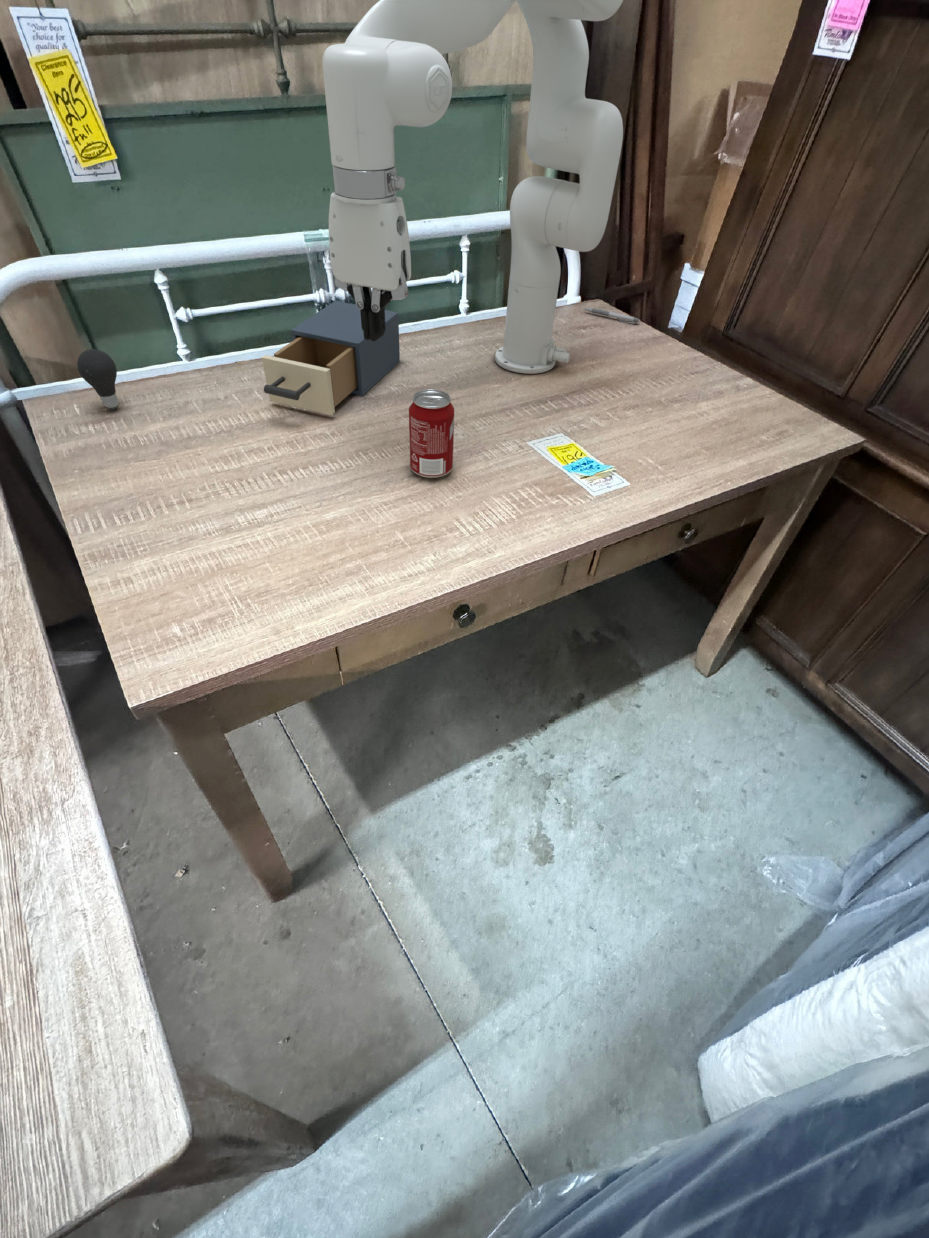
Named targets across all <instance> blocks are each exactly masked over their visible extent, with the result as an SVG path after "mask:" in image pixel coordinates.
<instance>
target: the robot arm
mask: <svg viewBox="0 0 929 1238" xmlns="http://www.w3.org/2000/svg"><path fill="white" fill-rule="evenodd" d="M515 2H516V3H517V5H518V7H519V9H520V11H521V13H522V15H523V18H524V20H525V22H526V25H527V29H528V31H529V34H530V39H531V45H532V54H533V60H532V61H533V63H532V77H531V85H530V86H531V87H530V96H529V105H528V107H529V108H528V116H527V125H526V137H525V139H526V141H525V146H526V148H525V149H526V153H527V156H528V158H529V160H530V161H531V162H532V163H534V164H535V165H536V166H540V167H542V168H546V169H551V170H556V171H562V172H567V173H572V174H577V175H579V176H578V177H579V182H573V181H568V180H565V179H559V178H554V177H550V176H543V175H542V176H541V175H534V176H529V177H526V178H524V179H523V180H521V181H519V183H517V185H516V186H515V188H514V190H513V192H512V195H511V198H510V204H509V223H510V224H509V225H510V235H511V236H510V237H511V253H510V270H509V279H508V280H509V281H508V292H507V301H506V302H507V303H506V304H507V305H506V313H505V323H504V324H505V325H504V336H503V346H501V347H499V348H498V349H497V350H496V351H495V355H494V361H495V362H496V364H497V365H498V366H499V367H501V368H502V369H505V370H506V371H510V372H513V373H518V374H527V375H528V374H529V375H535V374H542V373H546V372H549V371H550V370H552V369H553V368H554V367H555V365H556V361H557V362H559V363H562V364H563V363H564V364H569V361H570V358H571V353H570V352H568V348H565V347H564V348H563V347H557V345H555V340H556V339H555V338H554V337H552V336H553V329H554V322H555V315H556V308H557V301H558V295H559V294H558V293H559V288H560V281H561V272H562V271H561V270H562V268H561V259H560V256H559V253H558V250H557V247H558V248H562V249H565V250H570V251H576V252H581V253H586V252H590V251H593V250H594V249H595V248H597V247H598V246H599V244H600V242H601V241H602V239H603V237H604V234H605V232H606V228H607V224H608V221H609V216H610V210H611V205H612V200H613V196H614V189H615V185H616V179H617V174H618V169H619V164H620V160H621V159H620V158H621V154H622V147H623V140H624V124H623V118H622V113H621V112H620V109H618V107H617V106H616V105H615V104H613V103H612V102H609V101H606V100H602V99H601V100H600V99H593V98H587V97H586V84H587V76H588V68H589V62H590V61H589V60H590V50H589V49H590V48H589V42H588V38H587V34H586V31H585V27H584V24H583V23H582V21H589V22H602V21H606V20H609V19H610V18H612V16H614V15H615V14H616V13H617V11H618V10H619V9H620V8H621V6H622V4H623V2H624V0H378V1H377V2H376V3H375V4H374V5H372V6H371V8H370V9H369V10H368V11H367V12H366V13H365V15H363V17H362V18H361V19H360V20H359V22H358V23H357V24H356V25H355V27H354V28H353V29H352V31H351V32H350V34H349V35H348V36H347V38H346V40H345V42H344V43H334V44H331V45H329V46H328V47H326V49H325V50H324V52H323V54H322V55H323V56H322V74H323V76H322V77H323V86H324V96H325V106H326V118H327V129H328V139H329V141H328V142H329V150H330V151H329V152H330V160H331V161H330V162H331V171H332V172H331V173H332V183H333V192H331V194H330V200H329V206H328V207H329V208H328V251H329V261H330V268H331V272H332V273H331V274H332V275H333V277H334V281H333V282H334V286H335V287H336V288H338V289H341V290H342V291H345V292H348V294H349V295H350V297H351V298H352V299H353V300H354V303H355V304H356V306H357V308H358V309H360V313H361V326H362V330H363V333H364V339H365V340H369V339H370V340H371V341H376V340H378V339H379V338H380V337H381V336H383V335H384V332H385V329H386V326H385V310H386V309H385V308H386V307H387V306H388V305H389V304H390V302H391V301H402V300H405V299H406V298H407V297H408V296H409V289H408V284H407V282H409V281H410V280H411V278H412V256H411V245H410V235H409V227H408V221H407V214H406V208H405V204H404V201H403V197H401V196H397V193H398V191H404V190H405V187H406V179H405V177H404V176H400V175H398V174H397V167H396V165H395V163H396V158H395V157H396V156H395V128H396V126H402V127H403V126H404V127H413V128H424V127H425V128H426V127H429V126H432V125H433V124H435V123H437V122H438V121H439V120H440V119H442V117H443V116H444V115H445V113H446V112H447V110H448V108H449V105H450V103H451V100H452V95H453V94H452V93H453V78H452V74H451V70H450V67H449V64H448V62H447V61H446V59H445V57H444V56H443V55H447V54H452V53H456V52H460V51H462V50H466V49H468V48H471V47H473V46H474V47H475V46H476V45H478V44H481V43H482V42H484V41H486V39H488V38H489V37H490V36H491V34H492V33H493V32H494V30H495V29H496V27H497V26H498V25H499V23H500V22H501V21H502V20H503V18H504V17H505V15H506V14H507V13H508V11H509V10H510V9H511V8H512V6H513V5H514V3H515Z"/></svg>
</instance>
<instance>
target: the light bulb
mask: <svg viewBox="0 0 929 1238" xmlns="http://www.w3.org/2000/svg"><path fill="white" fill-rule="evenodd" d="M76 365H77V366H76V367H77V370H78V373H79V375H80V376H81V377H82V380H84V381H85V382H86V383H87V384H89V386H91V387H92V389H94V391H95V393H96V394H97V395H98V396H99V398H100V400H101V403H102V405H103V406H104V407H105V408H107V409H110V410H115V409H117V407H118V405H119V403H120V402H119V398H118V396H117V393H116V392H117V390H116V380H117V376H118V371H117V370H118V369H117V365H116V363H115V360H113V358H112V357H111V356H110V355H109V354H108V353H106V352H104V351H102V350H100V349H96V348H90V349H85V350H84V351H82V352H81V353H80V355H79V356H78V358H77V362H76Z"/></svg>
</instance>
